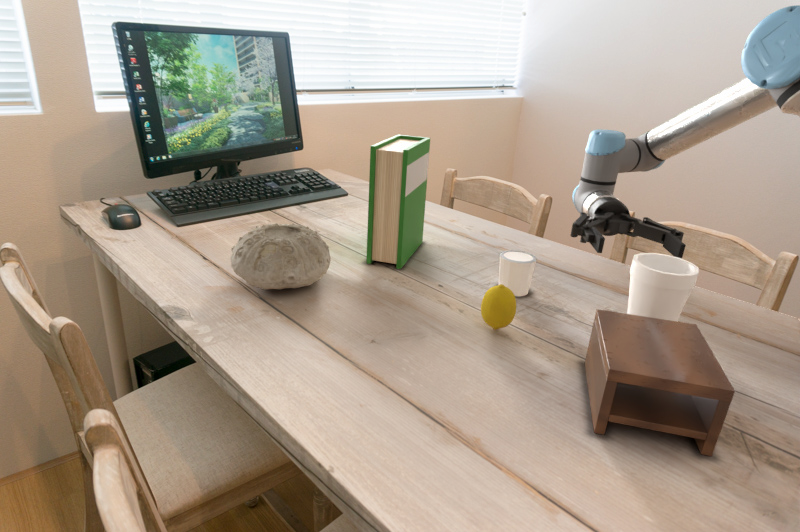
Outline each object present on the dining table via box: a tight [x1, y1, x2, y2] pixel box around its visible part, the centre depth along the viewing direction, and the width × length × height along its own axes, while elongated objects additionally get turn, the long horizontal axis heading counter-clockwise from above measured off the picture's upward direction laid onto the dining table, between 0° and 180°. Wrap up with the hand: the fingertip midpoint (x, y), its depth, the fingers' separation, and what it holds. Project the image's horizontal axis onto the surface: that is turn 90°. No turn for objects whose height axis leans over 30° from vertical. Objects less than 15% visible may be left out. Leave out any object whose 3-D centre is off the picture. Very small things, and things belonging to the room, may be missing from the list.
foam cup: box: [626, 252, 700, 322], centre depth 84 cm, size 10×9×13 cm
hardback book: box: [365, 134, 431, 270], centre depth 112 cm, size 18×7×24 cm, turn 163°
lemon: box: [480, 284, 517, 331], centre depth 84 cm, size 6×6×8 cm
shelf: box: [584, 308, 736, 457], centre depth 68 cm, size 13×16×9 cm
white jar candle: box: [497, 249, 538, 297], centre depth 100 cm, size 7×7×7 cm
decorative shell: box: [229, 223, 332, 291], centre depth 97 cm, size 18×18×10 cm
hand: (641, 249), depth 91 cm, fingers open, 13 cm apart
